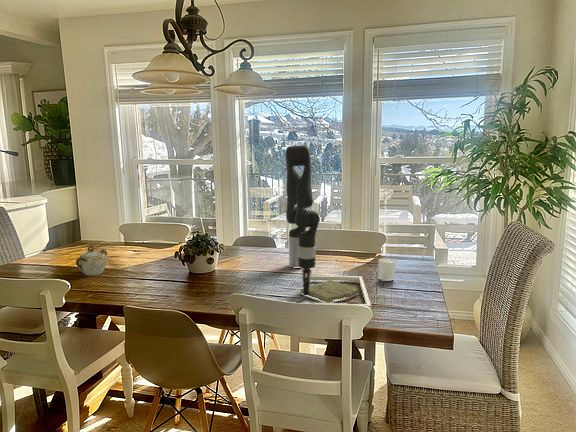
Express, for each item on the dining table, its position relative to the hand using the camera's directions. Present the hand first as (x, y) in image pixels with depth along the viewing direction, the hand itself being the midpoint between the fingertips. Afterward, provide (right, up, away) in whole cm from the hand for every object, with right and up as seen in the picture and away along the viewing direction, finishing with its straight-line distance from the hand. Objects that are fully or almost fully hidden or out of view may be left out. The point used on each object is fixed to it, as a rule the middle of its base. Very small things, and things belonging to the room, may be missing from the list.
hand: (306, 291), depth 184 cm
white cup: (+40, +2, +20) cm, 45 cm away
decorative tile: (+11, -2, 0) cm, 11 cm away
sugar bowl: (-110, +3, +32) cm, 115 cm away
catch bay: (+13, -2, -1) cm, 13 cm away
